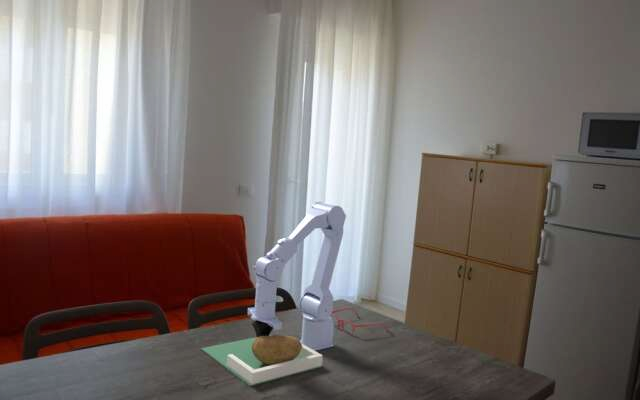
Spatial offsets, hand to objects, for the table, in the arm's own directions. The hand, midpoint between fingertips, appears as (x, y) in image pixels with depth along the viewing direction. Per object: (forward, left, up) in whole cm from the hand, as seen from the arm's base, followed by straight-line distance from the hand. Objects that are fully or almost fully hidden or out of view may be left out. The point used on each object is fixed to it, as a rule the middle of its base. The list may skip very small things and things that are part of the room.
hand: (262, 346), depth 151 cm
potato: (-1, +6, -3) cm, 7 cm away
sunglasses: (-43, -6, -4) cm, 44 cm away
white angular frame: (0, +7, -4) cm, 7 cm away
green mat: (0, 0, -4) cm, 4 cm away
